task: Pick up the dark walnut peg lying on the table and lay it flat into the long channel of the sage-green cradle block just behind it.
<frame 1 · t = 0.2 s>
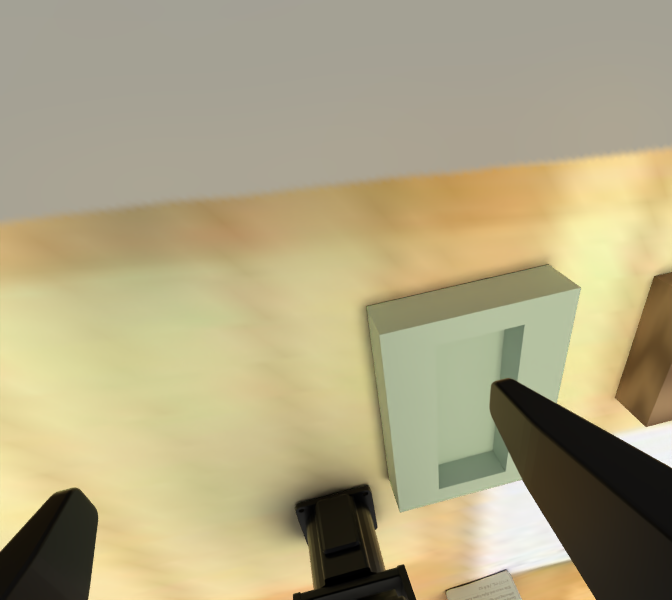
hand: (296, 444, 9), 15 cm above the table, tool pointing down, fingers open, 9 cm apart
sage cradle: (457, 387, 30), on the table
walnut peg: (650, 336, 32), on the table
skincare box: (475, 587, 50), on the table
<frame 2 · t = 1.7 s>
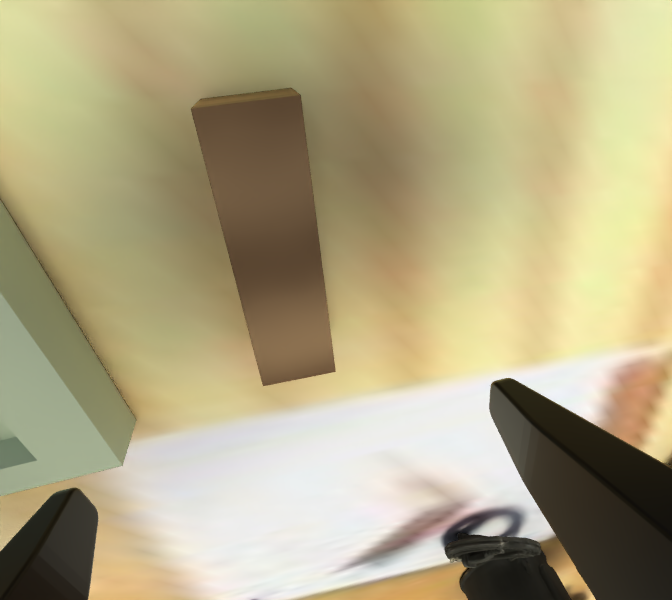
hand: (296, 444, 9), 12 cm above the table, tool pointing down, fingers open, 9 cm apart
milk frother: (490, 551, 40), on the table
walnut peg: (273, 234, 19), on the table
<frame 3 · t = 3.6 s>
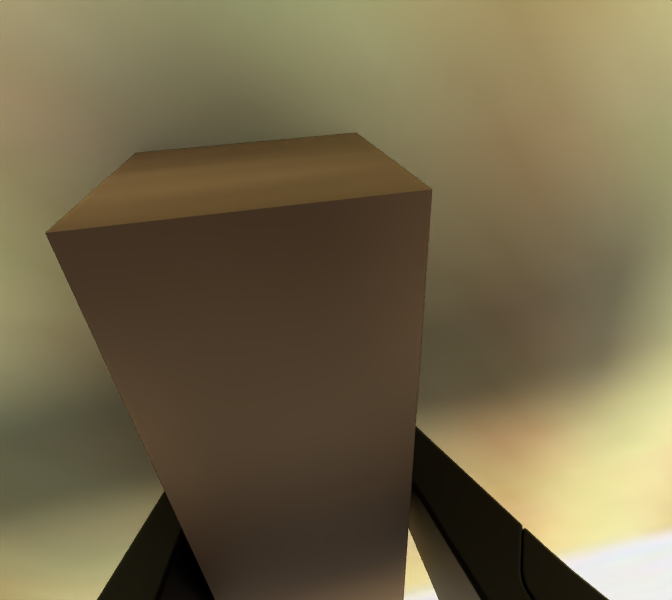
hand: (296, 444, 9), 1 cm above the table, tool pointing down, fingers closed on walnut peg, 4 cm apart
walnut peg: (291, 402, 10), on the table, touching gripper
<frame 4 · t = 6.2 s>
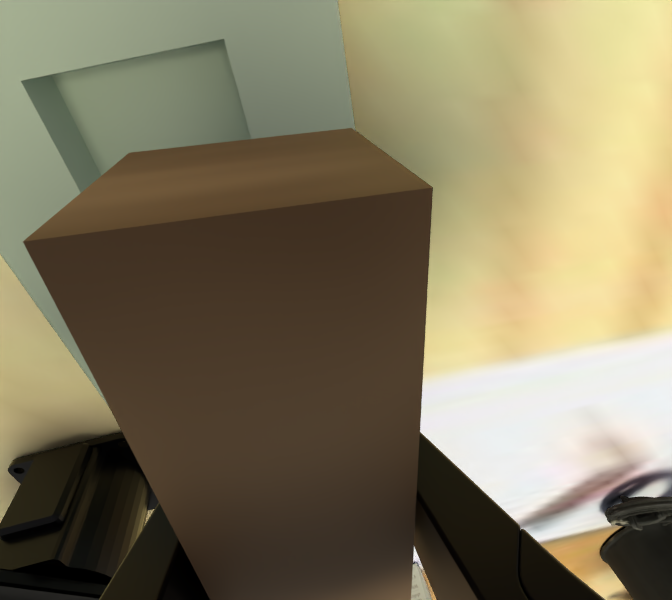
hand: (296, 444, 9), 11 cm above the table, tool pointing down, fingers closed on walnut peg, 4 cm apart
sage cradle: (219, 250, 17), on the table
milk frother: (637, 517, 39), on the table
walnut peg: (292, 406, 10), point 10 cm above the table, touching gripper
skincare box: (379, 586, 38), on the table
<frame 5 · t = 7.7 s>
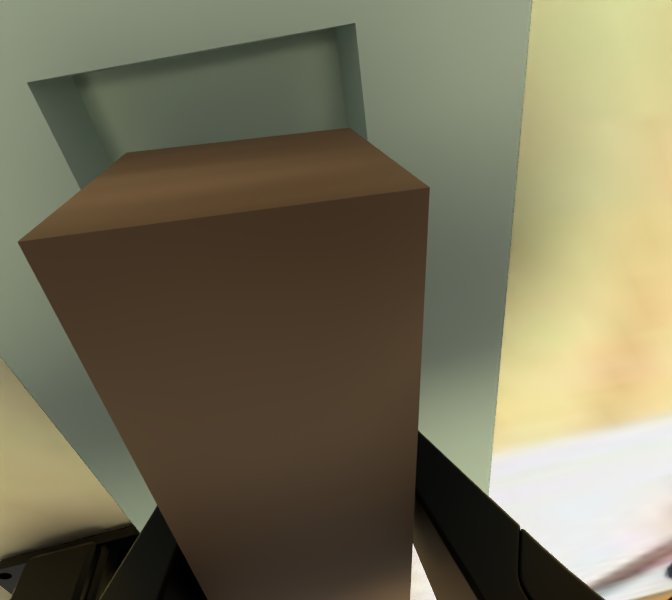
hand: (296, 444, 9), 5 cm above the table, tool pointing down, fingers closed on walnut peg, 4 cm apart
sage cradle: (281, 309, 13), on the table
walnut peg: (291, 407, 10), point 4 cm above the table, touching gripper
when the fingers open (4 cm above the table, at t = 8.6 s): walnut peg drops 2 cm, resting on sage cradle.
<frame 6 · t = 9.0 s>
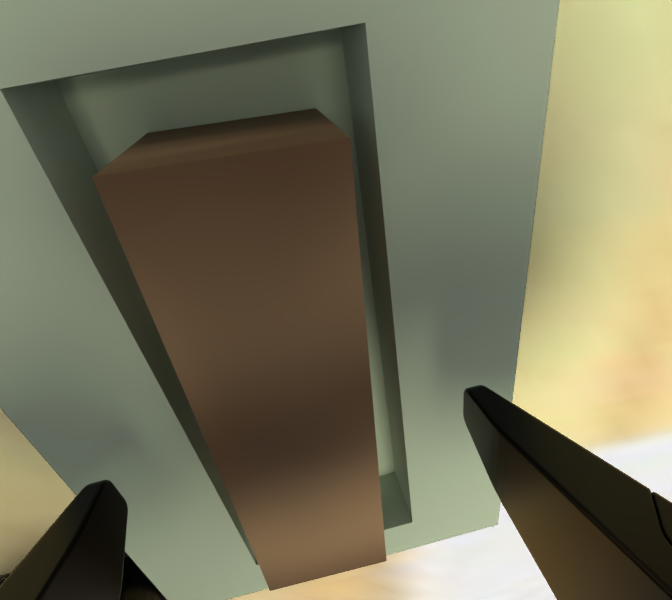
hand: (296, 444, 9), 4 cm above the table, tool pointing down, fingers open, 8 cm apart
sage cradle: (282, 325, 13), on the table
walnut peg: (284, 344, 12), point 1 cm above the table, touching sage cradle
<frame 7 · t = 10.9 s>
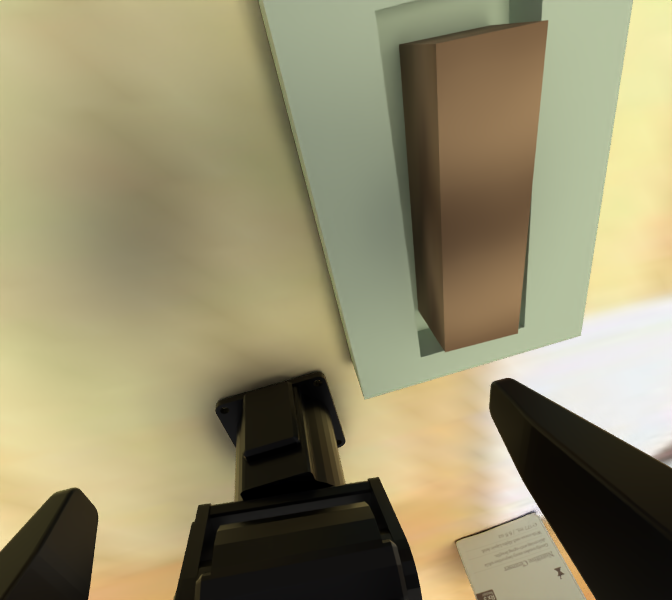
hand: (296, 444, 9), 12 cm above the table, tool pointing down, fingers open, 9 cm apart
sage cradle: (439, 186, 19), on the table
walnut peg: (447, 192, 18), point 1 cm above the table, touching sage cradle
skincare box: (494, 538, 39), on the table
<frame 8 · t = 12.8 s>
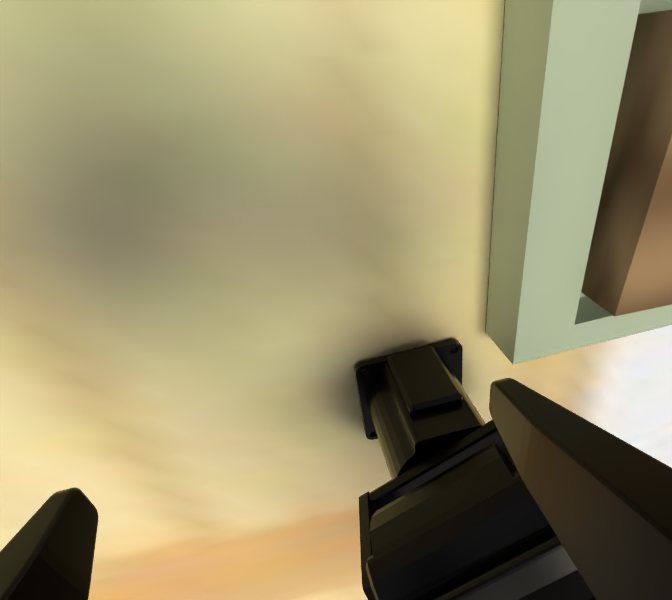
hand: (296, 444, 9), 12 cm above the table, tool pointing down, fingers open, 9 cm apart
sage cradle: (609, 160, 20), on the table
walnut peg: (625, 165, 19), point 1 cm above the table, touching sage cradle
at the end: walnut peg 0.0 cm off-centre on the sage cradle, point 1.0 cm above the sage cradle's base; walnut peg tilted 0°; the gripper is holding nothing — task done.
